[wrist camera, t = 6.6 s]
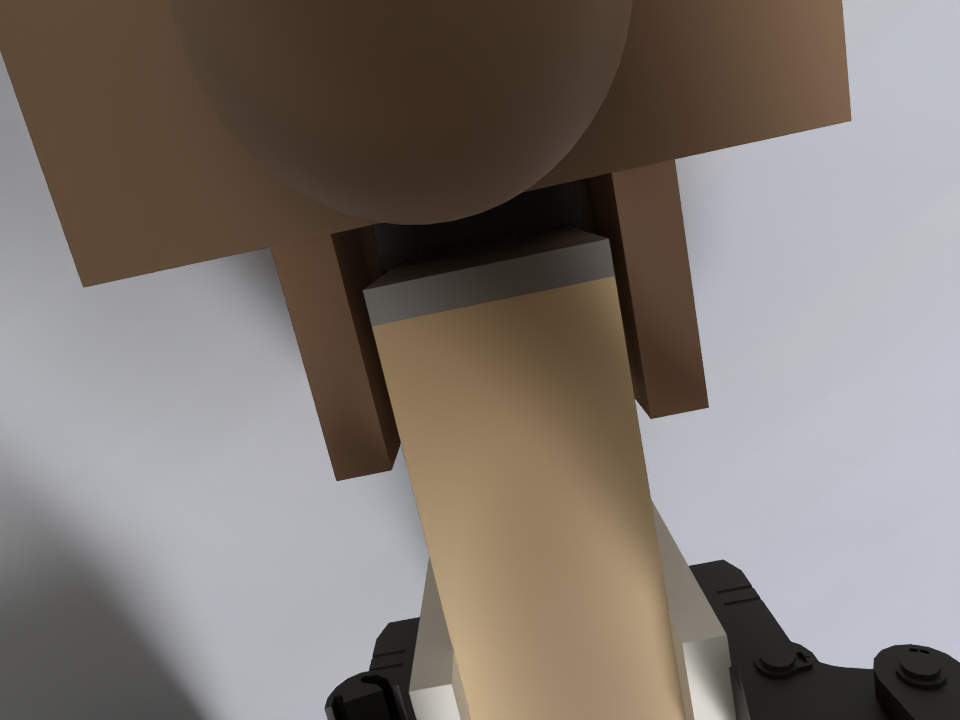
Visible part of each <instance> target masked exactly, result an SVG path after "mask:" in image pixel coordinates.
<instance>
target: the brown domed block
mask: <svg viewBox="0 0 960 720" xmlns="http://www.w3.org/2000/svg"><path fill="white" fill-rule="evenodd" d="M0 51H1V54H2V57H3V59H4V62H5V65H6V68H7V71H8V74H9V77H10V79H11V82H12V85H13V88H14V91H15V94H16V97H17V99H18V102H19V105H20V108H21V111H22V114H23V117H24V119H25V122H26V125H27V128H28V131H29V134H30V137H31V139H32V142H33V145H34V148H35V151H36V154H37V157H38V159H39V162H40V165H41V168H42V171H43V174H44V177H45V179H46V182H47V185H48V188H49V191H50V194H51V197H52V199H53V202H54V205H55V208H56V211H57V214H58V217H59V219H60V222H61V225H62V228H63V231H64V234H65V237H66V239H67V242H68V245H69V248H70V251H71V254H72V257H73V259H74V262H75V265H76V268H77V271H78V274H79V277H80V280H81V282H82V285H83V288H84V287H88V286H93V285H97V284H102V283H107V282H111V281H116V280H120V279H125V278H130V277H134V276H139V275H143V274H148V273H153V272H157V271H162V270H167V269H171V268H176V267H180V266H185V265H190V264H194V263H199V262H203V261H208V260H213V259H217V258H222V257H226V256H231V255H236V254H240V253H245V252H249V251H254V250H259V249H263V248H268V247H271V250H272V253H273V257H274V260H275V264H276V268H277V271H278V275H279V278H280V282H281V285H282V289H283V293H284V296H285V300H286V303H287V307H288V310H289V314H290V317H291V321H292V325H293V328H294V332H295V335H296V339H297V342H298V346H299V350H300V353H301V357H302V360H303V364H304V367H305V371H306V374H307V378H308V382H309V385H310V389H311V392H312V396H313V399H314V403H315V407H316V410H317V414H318V417H319V421H320V424H321V428H322V432H323V435H324V439H325V442H326V446H327V449H328V453H329V456H330V460H331V464H332V467H333V471H334V474H335V478H336V481H340V480H345V479H350V478H355V477H360V476H365V475H370V474H375V473H380V472H385V471H391V470H392V468H393V465H394V462H395V459H396V456H397V453H398V450H399V447H400V444H401V441H400V437H399V433H398V429H397V425H396V421H395V417H394V413H393V409H392V405H391V401H390V397H389V393H388V389H387V385H386V381H385V377H384V373H383V369H382V365H381V361H380V357H379V353H378V349H377V345H376V341H375V337H374V333H373V329H372V325H371V321H370V317H369V313H368V309H367V305H366V301H365V297H364V293H363V290H364V289H365V288H367V287H368V286H369V285H371V284H372V283H373V282H375V281H376V280H377V279H379V278H380V277H381V276H383V275H384V273H383V269H382V265H381V261H380V256H379V252H378V248H377V244H376V240H375V236H374V232H373V228H372V225H374V224H378V223H383V222H384V223H392V224H400V225H414V224H434V223H441V222H448V221H455V220H458V219H462V218H465V217H469V216H472V215H476V214H479V213H482V212H484V211H487V210H489V209H491V208H494V207H496V206H498V205H500V204H503V203H505V202H507V201H509V200H510V199H512V198H513V197H515V196H517V195H518V194H520V193H522V192H526V191H530V190H535V189H540V188H544V187H549V186H554V185H558V184H563V183H567V182H572V181H576V187H577V193H578V199H579V205H580V210H581V216H582V222H583V228H584V231H585V232H589V233H592V234H595V235H598V236H601V237H605V238H608V239H609V243H610V249H611V255H612V261H613V268H614V274H615V280H616V286H617V292H618V299H619V305H620V311H621V317H622V323H623V329H624V336H625V342H626V348H627V354H628V360H629V367H630V373H631V379H632V385H633V391H634V397H635V399H636V400H637V402H638V403H639V404H640V406H641V407H642V408H643V409H644V411H645V412H646V413H647V415H648V416H649V417H650V418H651V419H653V418H658V417H663V416H668V415H673V414H679V413H684V412H689V411H694V410H699V409H704V408H709V405H708V398H707V390H706V383H705V376H704V369H703V361H702V354H701V347H700V340H699V332H698V325H697V318H696V310H695V303H694V296H693V289H692V281H691V274H690V267H689V260H688V252H687V245H686V238H685V231H684V223H683V216H682V209H681V201H680V194H679V187H678V180H677V172H676V165H675V159H678V158H683V157H687V156H692V155H696V154H701V153H706V152H710V151H715V150H719V149H724V148H729V147H733V146H738V145H742V144H747V143H752V142H756V141H761V140H765V139H770V138H775V137H779V136H784V135H788V134H793V133H798V132H802V131H807V130H812V129H816V128H821V127H825V126H830V125H835V124H839V123H844V122H848V121H851V109H850V96H849V83H848V70H847V58H846V45H845V32H844V19H843V6H842V0H0Z"/></svg>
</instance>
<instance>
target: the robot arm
mask: <svg viewBox="0 0 960 720" xmlns="http://www.w3.org/2000/svg"><path fill="white" fill-rule="evenodd" d="M651 503H652V509H653V515H654V521H655V527H656V533H657V540H658V546H659V552H660V558H661V564H662V571H663V577H664V583H665V589H666V595H667V601H668V608H669V610H668V616H669V622H670V628H671V634H672V640H673V646H674V652H675V658H676V664H677V670H678V676H679V682H680V688H681V694H682V701H683V707H684V713H685V719H686V720H960V663H959V662H958V661H957V660H955V659H954V658H952V657H951V656H949V655H948V654H946V653H943V652H940V651H938V650H935V649H933V648H930V647H925V646H918V645H912V644H908V645H894V646H891V647H889V648H886V649H883V650H881V651H880V652H879V653H878V655H877V656H876V657H875V658H874V667H873V669H861V668H845V667H838V666H831V665H828V664H824V663H821V662H819V661H818V660H817V658H816V657H815V656H814V654H813V653H812V652H811V651H809V650H808V649H806V648H805V647H803V646H802V645H800V644H797V643H794V642H791V641H790V640H789V638H788V637H787V635H786V634H785V632H784V631H783V630H782V628H781V627H780V625H779V624H778V622H777V621H776V620H775V618H774V617H773V615H772V614H771V612H770V611H769V609H768V608H767V607H766V605H765V604H764V602H763V601H762V600H761V599H760V596H759V595H758V594H757V592H756V591H755V589H754V588H752V585H751V584H750V582H749V581H748V579H747V578H746V576H745V575H744V573H743V572H742V571H741V570H740V569H738V568H736V567H735V566H733V565H731V564H730V563H728V562H726V561H725V560H719V561H713V562H708V563H702V564H697V565H691V566H688V565H687V563H686V561H685V559H684V557H683V556H682V554H681V552H680V550H679V548H678V547H677V545H676V543H675V541H674V539H673V538H672V536H671V534H670V532H669V530H668V529H667V527H666V525H665V523H664V521H663V520H662V518H661V516H660V514H659V513H658V511H657V509H656V507H655V505H654V504H653V502H652V500H651ZM325 712H326V715H327V719H328V720H472V719H471V715H470V711H469V707H468V704H467V700H466V696H465V692H464V688H463V684H462V680H461V676H460V672H459V668H458V664H457V660H456V656H455V652H454V649H453V648H452V644H451V640H450V636H449V632H448V628H447V624H446V620H445V616H444V612H443V608H442V604H441V600H440V596H439V592H438V588H437V584H436V580H435V576H434V572H433V568H432V564H431V560H430V556H429V562H428V568H427V575H426V581H425V588H424V595H423V601H422V608H421V614H420V617H418V618H413V619H407V620H402V621H396V622H391V623H388V625H387V626H386V627H385V629H384V630H383V631H382V633H381V634H380V635H379V637H378V638H377V639H376V644H375V648H374V652H373V659H372V660H371V664H370V668H369V671H368V672H362V673H359V674H357V675H355V676H353V677H350V678H348V679H347V680H345V681H344V682H343V683H341V684H340V685H339V686H337V687H336V688H335V689H334V691H333V692H332V693H331V694H330V696H329V697H328V699H327V702H326V705H325Z"/></svg>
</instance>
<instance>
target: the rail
mask: <svg viewBox="0 0 960 720" xmlns="http://www.w3.org/2000/svg"><path fill="white" fill-rule="evenodd" d="M363 293H364V297H365V301H366V305H367V309H368V313H369V317H370V321H371V325H372V329H373V333H374V337H375V341H376V345H377V349H378V353H379V357H380V361H381V365H382V369H383V373H384V377H385V381H386V385H387V389H388V393H389V397H390V401H391V405H392V409H393V413H394V417H395V421H396V425H397V429H398V433H399V437H400V441H401V445H402V449H403V453H404V457H405V461H406V465H407V469H408V473H409V477H410V481H411V484H412V488H413V492H414V496H415V500H416V504H417V508H418V512H419V516H420V520H421V524H422V528H423V532H424V536H425V540H426V544H427V548H428V552H429V556H430V560H431V564H432V568H433V572H434V576H435V580H436V584H437V588H438V592H439V596H440V600H441V604H442V608H443V612H444V616H445V620H446V624H447V628H448V632H449V636H450V640H451V644H452V648H453V649H454V652H455V656H456V660H457V664H458V668H459V672H460V676H461V680H462V684H463V688H464V692H465V696H466V700H467V704H468V707H469V711H470V715H471V719H472V720H686V719H685V713H684V707H683V701H682V694H681V688H680V682H679V676H678V670H677V664H676V658H675V652H674V646H673V640H672V634H671V628H670V622H669V616H668V610H669V608H668V601H667V595H666V589H665V583H664V577H663V571H662V564H661V558H660V552H659V546H658V540H657V533H656V527H655V521H654V515H653V509H652V503H651V496H650V490H649V484H648V478H647V472H646V465H645V459H644V453H643V447H642V441H641V435H640V428H639V422H638V416H637V410H636V404H635V397H634V391H633V385H632V379H631V373H630V367H629V360H628V354H627V348H626V342H625V336H624V329H623V323H622V317H621V311H620V305H619V299H618V292H617V286H616V280H615V274H614V268H613V261H612V255H611V249H610V243H609V239H608V238H605V237H601V236H598V235H595V234H592V233H589V232H585V231H582V230H579V229H576V228H573V227H569V226H566V225H561V226H557V227H552V228H547V229H542V230H538V231H533V232H528V233H523V234H519V235H514V236H509V237H505V238H500V239H495V240H490V241H486V242H481V243H476V244H471V245H467V246H462V247H457V248H453V249H448V250H443V251H438V252H434V253H429V254H424V255H419V256H415V257H410V258H405V259H404V260H403V261H401V262H400V263H399V264H397V265H396V266H395V267H393V268H392V269H391V270H389V271H388V272H387V273H385V274H384V275H383V276H381V277H380V278H379V279H377V280H376V281H375V282H373V283H372V284H371V285H369V286H368V287H367V288H365V289H364V290H363Z"/></svg>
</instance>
